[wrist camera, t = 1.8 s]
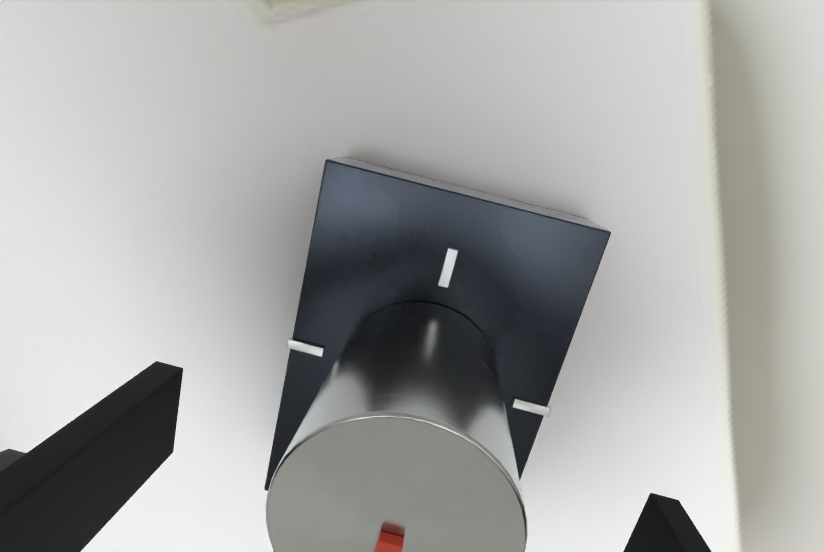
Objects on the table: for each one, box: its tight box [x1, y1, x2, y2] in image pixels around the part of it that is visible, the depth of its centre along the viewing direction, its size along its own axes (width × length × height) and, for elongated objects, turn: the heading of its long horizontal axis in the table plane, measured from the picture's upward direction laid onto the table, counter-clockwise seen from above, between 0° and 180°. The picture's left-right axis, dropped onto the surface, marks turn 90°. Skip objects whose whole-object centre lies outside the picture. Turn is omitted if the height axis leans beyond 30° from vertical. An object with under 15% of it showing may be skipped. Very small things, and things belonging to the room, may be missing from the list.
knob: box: [266, 302, 527, 552], centre depth 14 cm, size 6×6×8 cm
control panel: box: [265, 157, 611, 491], centre depth 19 cm, size 14×10×3 cm
